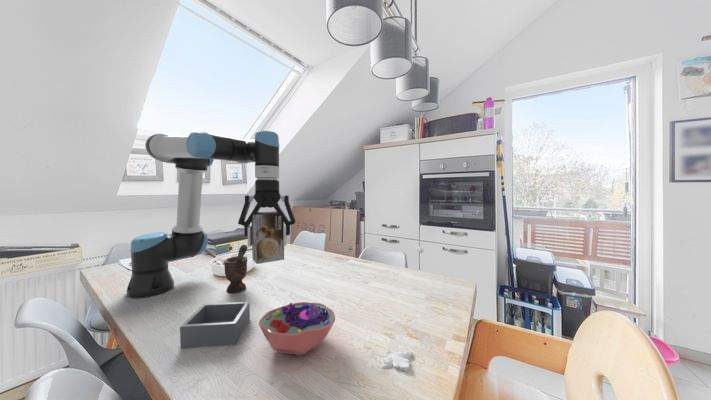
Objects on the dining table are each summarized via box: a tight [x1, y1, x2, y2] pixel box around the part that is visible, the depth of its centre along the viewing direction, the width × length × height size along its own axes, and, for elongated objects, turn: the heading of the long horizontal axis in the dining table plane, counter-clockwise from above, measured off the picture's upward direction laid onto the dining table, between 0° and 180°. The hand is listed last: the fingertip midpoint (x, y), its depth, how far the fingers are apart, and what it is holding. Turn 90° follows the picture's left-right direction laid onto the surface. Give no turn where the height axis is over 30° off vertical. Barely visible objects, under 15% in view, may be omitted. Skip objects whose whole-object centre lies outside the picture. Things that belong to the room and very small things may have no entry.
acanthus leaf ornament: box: [380, 350, 413, 372], centre depth 62 cm, size 8×7×2 cm
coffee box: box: [251, 210, 285, 265], centre depth 84 cm, size 9×6×16 cm
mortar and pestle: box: [223, 244, 248, 294], centre depth 104 cm, size 12×9×20 cm
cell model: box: [258, 301, 336, 356], centre depth 68 cm, size 17×20×11 cm
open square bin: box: [179, 301, 251, 350], centre depth 74 cm, size 14×13×6 cm
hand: (267, 245), depth 84 cm, fingers closed on coffee box, 11 cm apart
